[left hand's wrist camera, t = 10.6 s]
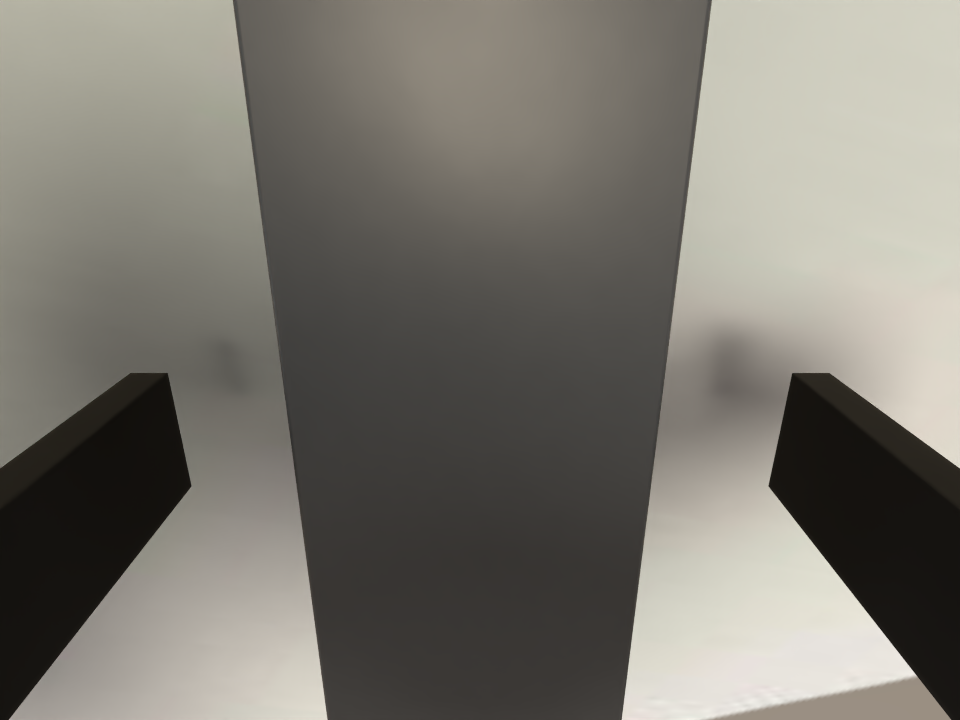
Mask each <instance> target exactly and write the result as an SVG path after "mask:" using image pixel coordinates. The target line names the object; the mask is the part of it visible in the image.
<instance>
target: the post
mask: <svg viewBox="0 0 960 720" xmlns="http://www.w3.org/2000/svg"><path fill="white" fill-rule="evenodd" d="M711 3H712V0H233V5H234V13H235V20H236V28H237V35H238V43H239V51H240V58H241V66H242V73H243V81H244V89H245V96H246V104H247V111H248V119H249V127H250V134H251V142H252V149H253V157H254V165H255V172H256V180H257V187H258V195H259V203H260V210H261V218H262V225H263V233H264V240H265V248H266V256H267V263H268V271H269V278H270V286H271V294H272V301H273V309H274V316H275V324H276V332H277V339H278V347H279V354H280V362H281V370H282V377H283V385H284V392H285V400H286V407H287V415H288V423H289V430H290V438H291V445H292V453H293V461H294V468H295V476H296V483H297V491H298V499H299V506H300V514H301V521H302V529H303V537H304V544H305V552H306V559H307V567H308V575H309V582H310V590H311V597H312V605H313V612H314V620H315V628H316V635H317V643H318V650H319V658H320V666H321V673H322V681H323V688H324V696H325V704H326V711H327V719H328V720H622V712H623V704H624V696H625V688H626V680H627V672H628V664H629V656H630V648H631V640H632V632H633V624H634V616H635V608H636V600H637V593H638V585H639V577H640V569H641V561H642V553H643V545H644V537H645V529H646V521H647V513H648V505H649V497H650V489H651V481H652V473H653V465H654V457H655V449H656V441H657V433H658V425H659V417H660V409H661V401H662V393H663V385H664V377H665V369H666V361H667V353H668V346H669V338H670V330H671V322H672V314H673V306H674V298H675V290H676V282H677V274H678V266H679V258H680V250H681V242H682V234H683V226H684V218H685V210H686V202H687V194H688V186H689V178H690V170H691V162H692V154H693V146H694V138H695V130H696V122H697V114H698V107H699V99H700V91H701V83H702V75H703V67H704V59H705V51H706V43H707V35H708V27H709V19H710V11H711Z"/></svg>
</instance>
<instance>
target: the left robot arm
mask: <svg viewBox="0 0 960 720" xmlns="http://www.w3.org/2000/svg"><path fill="white" fill-rule="evenodd" d="M190 487H191V482H190V477H189V472H188V468H187V463H186V458H185V453H184V449H183V444H182V439H181V434H180V430H179V425H178V420H177V415H176V411H175V406H174V401H173V396H172V392H171V387H170V382H169V377H168V373H130V374H129V375H127V376H126V377H125V378H123V379H122V380H121V381H119V382H118V383H117V384H115V385H114V386H112V387H111V388H110V389H108V390H107V391H106V392H104V393H103V394H102V395H100V396H99V397H97V398H96V399H95V400H93V401H92V402H91V403H89V404H88V405H86V406H85V407H84V408H82V409H81V410H80V411H78V412H77V413H76V414H74V415H73V416H71V417H70V418H69V419H67V420H66V421H65V422H63V423H62V424H61V425H59V426H58V427H56V428H55V429H54V430H52V431H51V432H50V433H48V434H47V435H45V436H44V437H43V438H41V439H40V440H39V441H37V442H36V443H35V444H33V445H32V446H30V447H29V448H28V449H26V450H25V451H24V452H22V453H21V454H19V455H18V456H17V457H15V458H14V459H13V460H11V461H10V462H9V463H7V464H6V465H4V466H3V467H2V468H0V720H9V719H10V717H11V716H12V715H13V713H14V712H15V711H16V710H17V708H18V707H19V706H20V705H21V703H22V702H23V701H24V699H25V698H26V697H27V696H28V694H29V693H30V692H31V690H32V689H33V688H34V687H35V685H36V684H37V683H38V682H39V680H40V679H41V678H42V676H43V675H44V674H45V673H46V671H47V670H48V669H49V667H50V666H51V665H52V664H53V662H54V661H55V660H56V659H57V657H58V656H59V655H60V653H61V652H62V651H63V650H64V648H65V647H66V646H67V644H68V643H69V642H70V641H71V639H72V638H73V637H74V636H75V634H76V633H77V632H78V630H79V629H80V628H81V627H82V625H83V624H84V623H85V622H86V620H87V619H88V618H89V616H90V615H91V614H92V613H93V611H94V610H95V609H96V607H97V606H98V605H99V604H100V602H101V601H102V600H103V599H104V597H105V596H106V595H107V593H108V592H109V591H110V590H111V588H112V587H113V586H114V584H115V583H116V582H117V581H118V579H119V578H120V577H121V576H122V574H123V573H124V572H125V570H126V569H127V568H128V567H129V565H130V564H131V563H132V561H133V560H134V559H135V558H136V556H137V555H138V554H139V553H140V551H141V550H142V549H143V547H144V546H145V545H146V544H147V542H148V541H149V540H150V538H151V537H152V536H153V535H154V533H155V532H156V531H157V530H158V528H159V527H160V526H161V524H162V523H163V522H164V521H165V519H166V518H167V517H168V515H169V514H170V513H171V512H172V510H173V509H174V508H175V507H176V505H177V504H178V503H179V501H180V500H181V499H182V498H183V496H184V495H185V494H186V493H187V491H188V490H189V489H190ZM769 487H770V489H771V490H772V491H773V493H774V494H775V495H776V496H777V498H778V499H779V500H780V501H781V503H782V504H783V505H784V507H785V508H786V509H787V510H788V512H789V513H790V514H791V516H792V517H793V518H794V519H795V521H796V522H797V523H798V524H799V526H800V527H801V528H802V530H803V531H804V532H805V533H806V535H807V536H808V537H809V539H810V540H811V541H812V542H813V544H814V545H815V546H816V547H817V549H818V550H819V551H820V553H821V554H822V555H823V556H824V558H825V559H826V560H827V561H828V563H829V564H830V565H831V567H832V568H833V569H834V570H835V572H836V573H837V574H838V576H839V577H840V578H841V579H842V581H843V582H844V583H845V584H846V586H847V587H848V588H849V590H850V591H851V592H852V593H853V595H854V596H855V597H856V599H857V600H858V601H859V602H860V604H861V605H862V606H863V607H864V609H865V610H866V611H867V613H868V614H869V615H870V616H871V618H872V619H873V620H874V622H875V623H876V624H877V625H878V627H879V628H880V629H881V630H882V632H883V633H884V634H885V636H886V637H887V638H888V639H889V641H890V642H891V643H892V645H893V646H894V647H895V648H896V650H897V651H898V652H899V653H900V655H901V656H902V657H903V659H904V660H905V661H906V662H907V664H908V665H909V666H910V667H911V669H912V670H913V671H914V673H915V674H916V675H917V676H918V678H919V679H920V680H921V682H922V683H923V684H924V685H925V687H926V688H927V689H928V690H929V692H930V693H931V694H932V696H933V697H934V698H935V699H936V701H937V702H938V703H939V705H940V706H941V707H942V708H943V710H944V711H945V712H946V713H947V715H948V716H949V717H950V719H951V720H960V468H958V467H957V466H956V465H954V464H953V463H951V462H950V461H949V460H947V459H946V458H945V457H943V456H942V455H940V454H939V453H938V452H936V451H935V450H934V449H932V448H931V447H930V446H928V445H927V444H925V443H924V442H923V441H921V440H920V439H919V438H917V437H916V436H915V435H913V434H912V433H910V432H909V431H908V430H906V429H905V428H904V427H902V426H901V425H899V424H898V423H897V422H895V421H894V420H893V419H891V418H890V417H889V416H887V415H886V414H884V413H883V412H882V411H880V410H879V409H878V408H876V407H875V406H874V405H872V404H871V403H869V402H868V401H867V400H865V399H864V398H863V397H861V396H860V395H858V394H857V393H856V392H854V391H853V390H852V389H850V388H849V387H848V386H846V385H845V384H843V383H842V382H841V381H839V380H838V379H837V378H835V377H834V376H832V375H831V374H830V373H792V377H791V382H790V387H789V392H788V396H787V401H786V406H785V411H784V415H783V420H782V425H781V430H780V434H779V439H778V444H777V449H776V453H775V458H774V463H773V468H772V472H771V477H770V482H769Z"/></svg>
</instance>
